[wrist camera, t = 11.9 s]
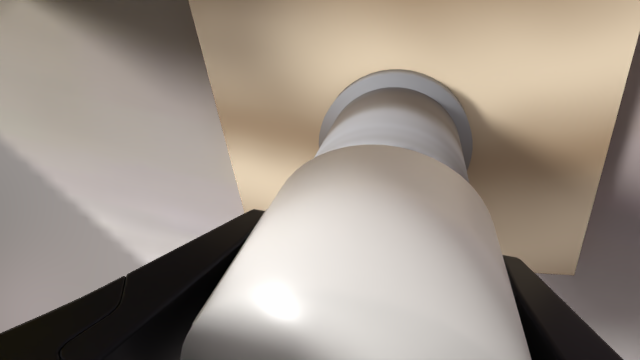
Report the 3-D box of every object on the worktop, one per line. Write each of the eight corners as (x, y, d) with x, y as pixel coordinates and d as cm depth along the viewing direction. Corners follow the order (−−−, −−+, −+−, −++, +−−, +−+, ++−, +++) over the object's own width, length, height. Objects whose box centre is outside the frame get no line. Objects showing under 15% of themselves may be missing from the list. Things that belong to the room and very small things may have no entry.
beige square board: (199, -13, 14) (31, 1, 8) (649, -81, 10) (977, -153, 4) (262, 242, 19) (193, 362, 13) (565, 258, 16) (652, 434, 10)
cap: (440, 348, 10) (450, 546, 6) (255, 281, 10) (174, 435, 7) (549, 194, 7) (665, 400, 4) (289, 111, 7) (181, 228, 4)
